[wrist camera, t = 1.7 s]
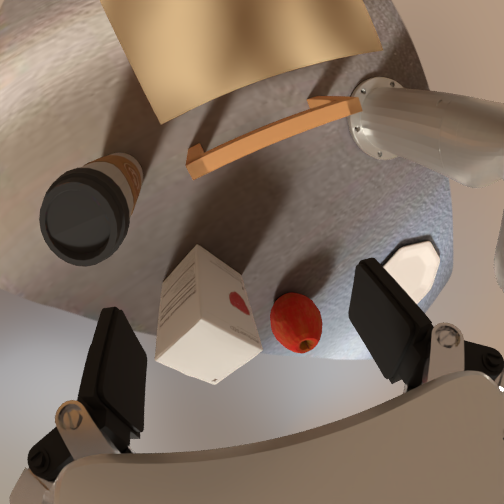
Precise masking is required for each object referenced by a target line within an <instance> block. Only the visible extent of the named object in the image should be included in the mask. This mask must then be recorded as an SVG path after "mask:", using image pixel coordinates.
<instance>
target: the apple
mask: <svg viewBox="0 0 504 504" xmlns="http://www.w3.org/2000/svg"><path fill="white" fill-rule="evenodd" d="M270 320H271V328H272V332H273V334H274V335H275V337H276V339H277V340H278V341H279V342H280V343H281V344H282V345H283V346H284V347H286V348H287V349H289V350H291V351H293V352H296V353H305V352H308V351H310V350H312V349H313V348H314V347H315V346H316V345H317V344H318V342H319V340H320V337H321V334H322V319H321V314H320V311H319V310H318V308H317V307H316V305H315V304H314V303H313V301H312V300H310V299H309V298H308V297H306V296H304V295H302V294H298V293H292V292H291V293H287V294H284V295H282V296H281V297H279V298H278V299H277V300H276V301H275V303H274V305H273V307H272V309H271V314H270Z"/></svg>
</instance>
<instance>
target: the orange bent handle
mask: <svg viewBox="0 0 504 504" xmlns="http://www.w3.org/2000/svg"><path fill="white" fill-rule="evenodd" d="M307 101H308V104H309V107H310V109H308V110H306V111H303V112H300V113H297V114H294V115H292V116H289V117H286V118H284V119H281V120H278V121H276V122H273V123H271V124H268V125H266V126H263V127H261V128H258V129H256V130H253V131H251V132H249V133H246V134H244V135H242V136H239V137H237V138H235V139H233V140H230V141H228V142H226V143H224V144H222V145H219V146H217V147H215V148H213V149H211V150H209V151H207V152H205V153H204V151H203V149H202V147H201V145H200V143H199V144H197V145H195V146H193V147H191V148H189V149H188V154H187V160H186V168H187V170H188V172H189V173H190V175H191V177H192V179H193V180H195V179H197V178H199V177H201V176H203V175H205V174H207V173H209V172H211V171H213V170H215V169H217V168H219V167H221V166H224V165H226V164H228V163H230V162H232V161H234V160H237V159H239V158H241V157H243V156H245V155H248V154H250V153H252V152H255V151H257V150H259V149H261V148H264V147H266V146H269V145H271V144H273V143H276V142H278V141H281V140H283V139H286V138H288V137H291V136H293V135H296V134H298V133H301V132H304V131H306V130H309V129H312V128H314V127H317V126H320V125H323V124H325V123H328V122H331V121H334V120H337V119H340V118H343V117H346V116H349V115H352V114H355V113H358V112H362V111H363V110H362V107H361V104H360V100H359V97H345V96H316V97H313V98H310V99H307Z"/></svg>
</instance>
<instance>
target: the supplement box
mask: <svg viewBox="0 0 504 504" xmlns="http://www.w3.org/2000/svg"><path fill="white" fill-rule="evenodd" d="M262 350H263V348H262V345H261V342H260V338H259V335H258V331H257V328H256V324H255V321H254V317H253V314H252V310H251V307H250V303H249V300H248V296H247V293H246V289H245V286H244V282H243V279H242V275H241V274H239V273H238V272H236V271H235V270H233V269H232V268H231V267H229V266H228V265H226V264H225V263H224V262H222V261H221V260H219V259H218V258H217V257H215V256H214V255H212V254H211V253H210V252H208V251H207V250H205V249H204V248H203V247H201V246H200V245H198V244H197V245H196V246H195V247H194V248H193V249H192V250H191V251H190V252H189V253H188V254H187V256H186V257H185V258H184V259H183V260H182V261H181V262H180V264H179V265H178V266H177V267H176V268H175V269H174V270H173V272H172V273H171V274H170V275H169V276H168V277H167V278H166V280H165V281H164V282H163V284H162V293H161V301H160V310H159V319H158V329H157V341H156V353H155V361H157V362H160V363H162V364H164V365H166V366H168V367H171V368H173V369H176V370H178V371H180V372H182V373H183V374H185V375H188V376H192V377H195V378H198V379H200V380H203V381H206V382H208V383H211V384H214V385H216V384H217V383H218V382H220V381H221V380H222V379H224V378H225V377H226V376H228V375H229V374H231V373H232V372H234V371H235V370H236V369H238V368H239V367H241V366H242V365H244V364H245V363H246V362H248V361H249V360H251V359H252V358H254V357H255V356H256V355H257V354H259V353H260V352H261V351H262Z"/></svg>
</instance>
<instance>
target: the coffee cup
mask: <svg viewBox="0 0 504 504" xmlns="http://www.w3.org/2000/svg"><path fill="white" fill-rule="evenodd" d="M142 183H143V172H142V168H141V166H140V164H139V163H138V161H137V160H136V159H135V158H134V157H132V156H131V155H129V154H125V153H114V154H110V155H108V156H104V157H101V158H99V159H96V160H94V161H92V162H89V163H87V164H86V165H84V166H83V167H81V168H76V169H73V170H70V171H67V172H65V173H64V174H63V175H61V176H60V177H59V178H58V179H57V180H56V181H55V182H54V183H53V184H52V185H51V186H50V188H49V189H48V191H47V192H46V194H45V197H44V200H43V203H42V206H41V209H40V218H39V221H40V228H41V232H42V235H43V237H44V240H45V242H46V243H47V245H48V246H49V248H50V249H51V250H52V251H53V252H54V253H55V254H56V255H57V256H58V257H59V258H61V259H62V260H64V261H65V262H67V263H70V264H73V265H76V266H91V265H96V264H97V263H99V262H101V261H103V260H105V259H107V258H109V257H110V256H111V255H112V254H113V253H114V252H115V251H116V250H117V249H118V248H119V246H120V245H121V244H122V242H123V240H124V238H125V237H126V235H127V232H128V228H129V224H130V216H131V215H132V213H133V210H134V207H135V204H136V202H137V199H138V196H139V193H140V189H141V186H142Z"/></svg>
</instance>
